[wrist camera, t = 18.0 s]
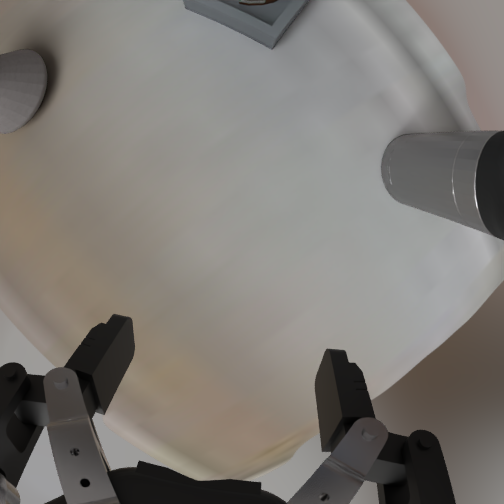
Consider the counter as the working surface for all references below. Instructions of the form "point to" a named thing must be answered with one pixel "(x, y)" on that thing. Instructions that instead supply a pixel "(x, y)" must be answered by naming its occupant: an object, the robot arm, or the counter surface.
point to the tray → (251, 17)
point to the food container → (256, 2)
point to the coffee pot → (20, 88)
